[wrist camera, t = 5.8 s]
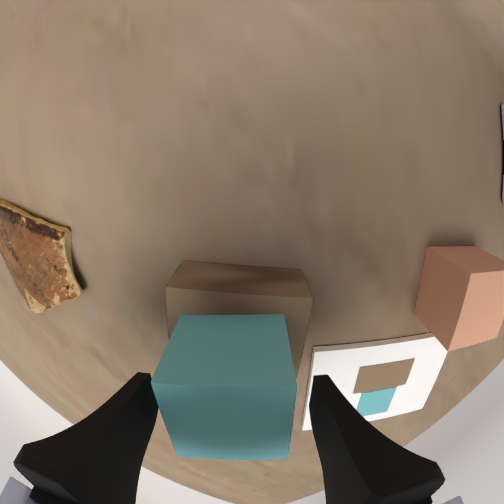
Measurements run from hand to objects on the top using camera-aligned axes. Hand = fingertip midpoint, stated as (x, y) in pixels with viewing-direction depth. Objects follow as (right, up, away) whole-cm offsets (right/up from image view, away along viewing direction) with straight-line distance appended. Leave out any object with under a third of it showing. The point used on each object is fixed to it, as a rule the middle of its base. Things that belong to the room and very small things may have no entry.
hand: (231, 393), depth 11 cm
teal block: (0, +1, +3) cm, 3 cm away
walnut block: (0, +2, +7) cm, 7 cm away
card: (+11, -4, +8) cm, 15 cm away
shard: (-16, +6, +6) cm, 18 cm away
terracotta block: (+15, +4, +6) cm, 17 cm away
